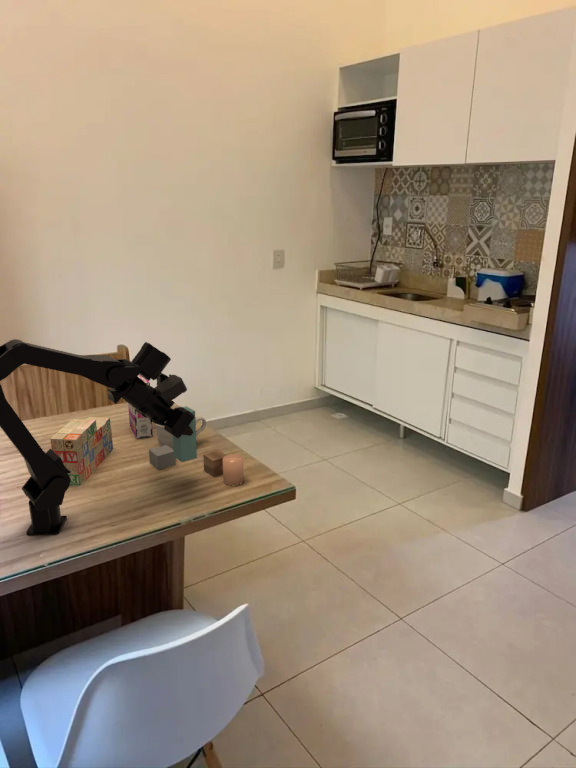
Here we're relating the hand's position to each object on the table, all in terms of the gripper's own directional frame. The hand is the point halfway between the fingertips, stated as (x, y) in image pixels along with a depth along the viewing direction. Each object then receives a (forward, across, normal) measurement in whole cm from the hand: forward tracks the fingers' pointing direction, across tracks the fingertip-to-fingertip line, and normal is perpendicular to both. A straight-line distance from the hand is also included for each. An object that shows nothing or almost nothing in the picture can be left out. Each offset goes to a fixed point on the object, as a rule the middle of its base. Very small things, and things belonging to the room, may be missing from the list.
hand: (187, 430), depth 137 cm
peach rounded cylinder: (+15, -7, +3) cm, 17 cm away
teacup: (+16, +19, +3) cm, 25 cm away
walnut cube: (+15, 0, +4) cm, 15 cm away
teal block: (+4, 0, +5) cm, 7 cm away
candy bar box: (+12, +35, +6) cm, 38 cm away
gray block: (+9, +12, +10) cm, 18 cm away
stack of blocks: (-2, +23, +21) cm, 31 cm away
